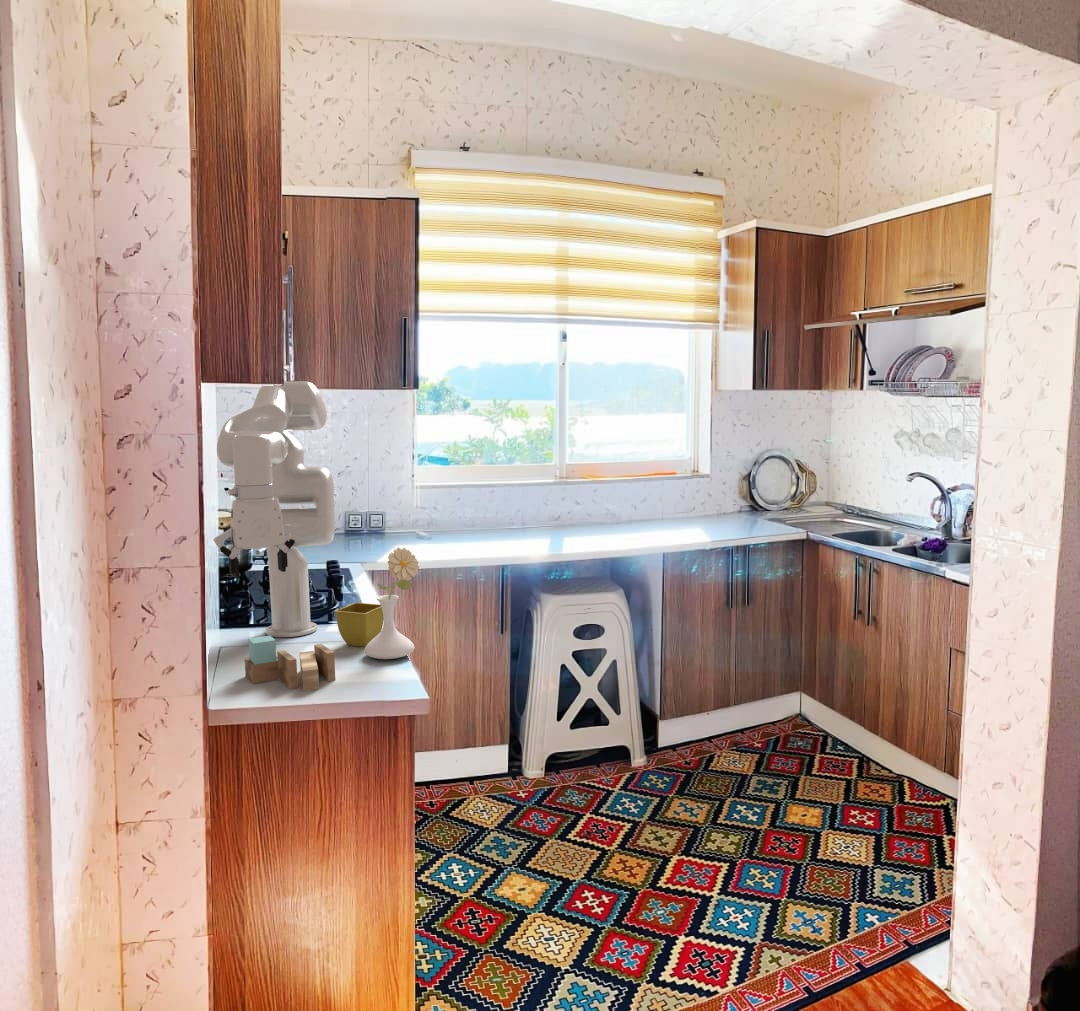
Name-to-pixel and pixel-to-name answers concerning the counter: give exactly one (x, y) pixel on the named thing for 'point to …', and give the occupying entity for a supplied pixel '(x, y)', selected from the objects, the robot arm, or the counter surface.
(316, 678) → the push bar
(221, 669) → the counter surface
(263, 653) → the block
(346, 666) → the counter surface
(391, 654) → the flower in vase
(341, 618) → the flower pot
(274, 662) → the pedestal
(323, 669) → the channel
